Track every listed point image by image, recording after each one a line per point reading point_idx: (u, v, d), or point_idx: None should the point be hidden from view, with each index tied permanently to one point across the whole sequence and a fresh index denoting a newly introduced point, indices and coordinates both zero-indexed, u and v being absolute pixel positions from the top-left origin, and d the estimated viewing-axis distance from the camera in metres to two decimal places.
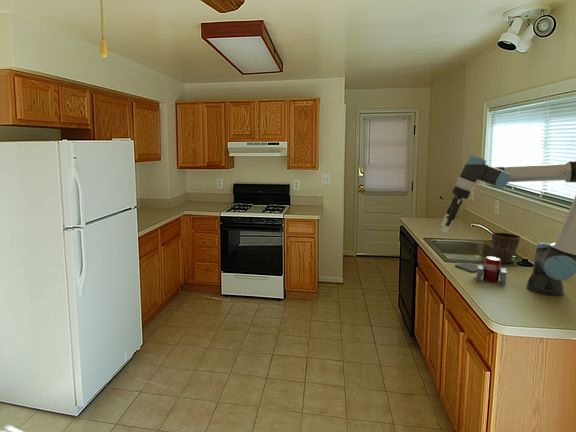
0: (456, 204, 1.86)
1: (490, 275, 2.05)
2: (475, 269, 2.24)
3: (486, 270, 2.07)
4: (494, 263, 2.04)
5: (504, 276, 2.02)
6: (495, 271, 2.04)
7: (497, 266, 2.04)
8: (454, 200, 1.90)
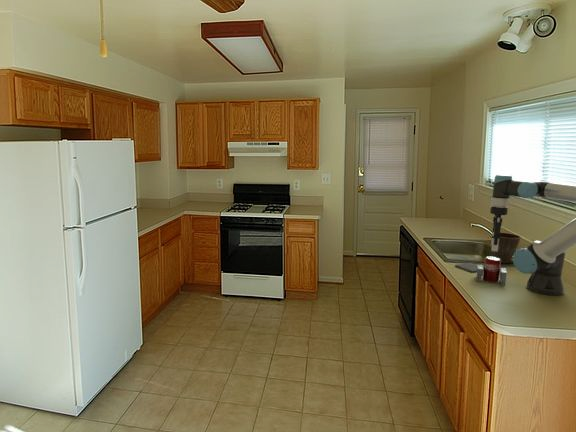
0: (497, 223, 1.97)
1: (490, 275, 2.05)
2: (475, 269, 2.24)
3: (486, 270, 2.07)
4: (494, 263, 2.04)
5: (504, 276, 2.02)
6: (495, 271, 2.04)
7: (497, 266, 2.04)
8: (494, 219, 2.02)
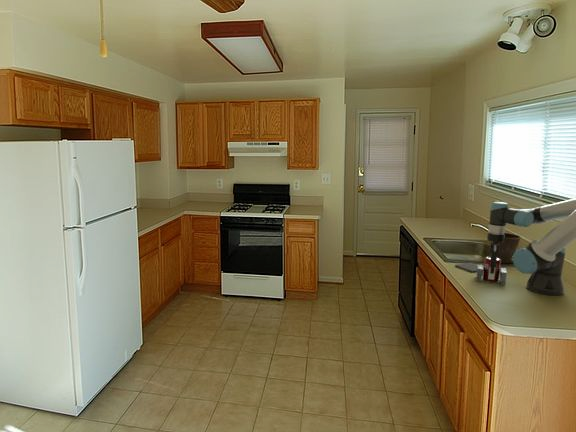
0: (493, 252, 2.00)
1: None
2: (475, 269, 2.24)
3: (486, 270, 2.07)
4: None
5: (504, 276, 2.02)
6: (495, 271, 2.04)
7: (497, 266, 2.04)
8: (491, 246, 2.04)
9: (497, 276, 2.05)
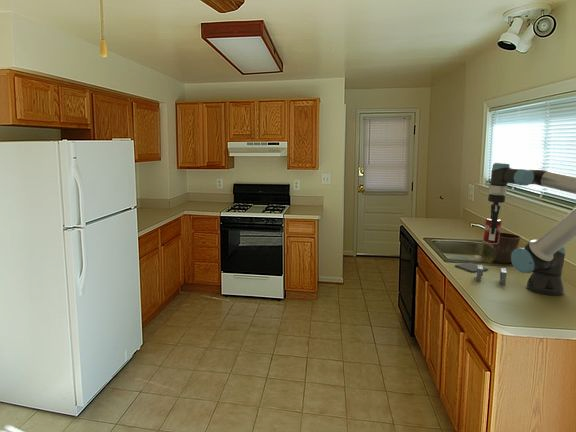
0: (494, 212, 2.00)
1: None
2: (475, 269, 2.24)
3: (486, 231, 2.07)
4: None
5: (504, 276, 2.02)
6: None
7: (498, 227, 2.04)
8: (492, 207, 2.04)
9: (497, 237, 2.05)
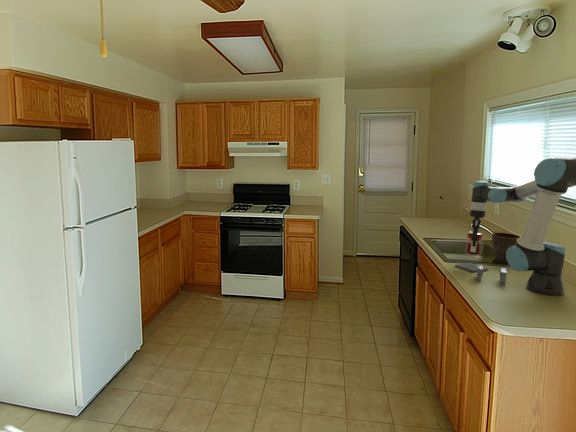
0: (475, 227, 2.19)
1: None
2: (475, 269, 2.24)
3: (468, 243, 2.25)
4: None
5: (504, 276, 2.02)
6: None
7: (478, 240, 2.23)
8: (473, 222, 2.23)
9: (478, 249, 2.24)
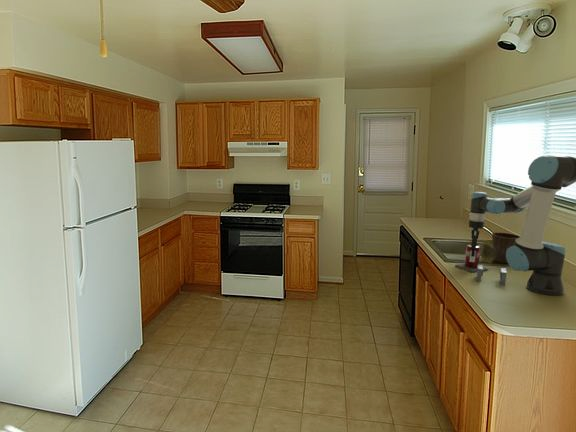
0: (474, 236, 2.20)
1: None
2: (475, 269, 2.24)
3: (467, 257, 2.27)
4: None
5: (504, 276, 2.02)
6: (475, 257, 2.24)
7: (477, 253, 2.24)
8: (472, 232, 2.24)
9: (477, 262, 2.25)
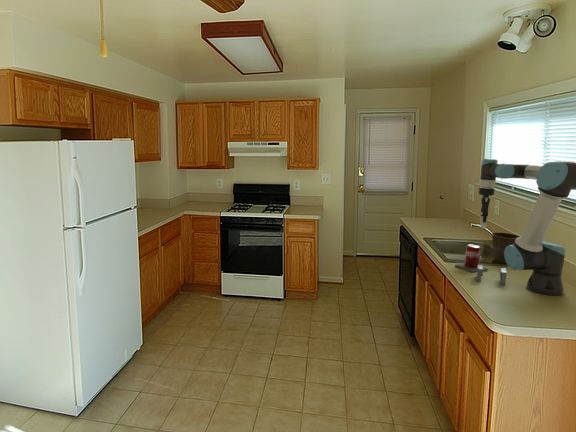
0: (485, 202, 2.16)
1: (470, 261, 2.25)
2: (475, 269, 2.24)
3: (467, 257, 2.27)
4: (474, 250, 2.24)
5: (504, 276, 2.02)
6: (475, 257, 2.24)
7: (477, 253, 2.24)
8: (483, 199, 2.21)
9: (477, 262, 2.25)
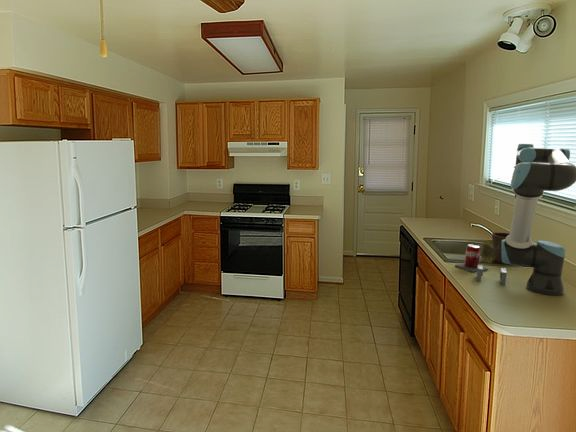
0: None
1: (470, 261, 2.25)
2: (475, 269, 2.24)
3: (467, 257, 2.27)
4: (474, 250, 2.24)
5: (504, 276, 2.02)
6: (475, 257, 2.24)
7: (477, 253, 2.24)
8: None
9: (477, 262, 2.25)
